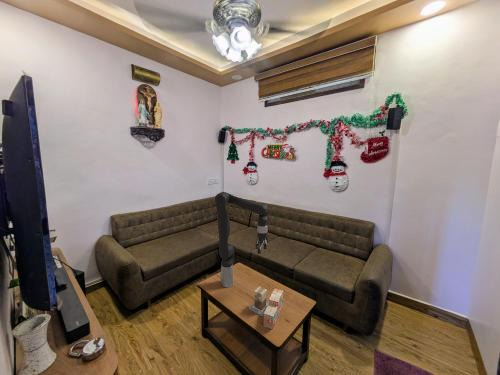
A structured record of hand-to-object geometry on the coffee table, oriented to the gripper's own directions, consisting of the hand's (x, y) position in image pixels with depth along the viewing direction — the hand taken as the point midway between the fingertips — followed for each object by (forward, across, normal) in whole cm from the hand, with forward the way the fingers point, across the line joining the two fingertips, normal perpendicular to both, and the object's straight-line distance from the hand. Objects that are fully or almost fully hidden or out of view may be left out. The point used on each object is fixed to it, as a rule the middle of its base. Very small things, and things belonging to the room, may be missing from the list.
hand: (262, 251), depth 155 cm
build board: (+32, +16, +9) cm, 37 cm away
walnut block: (+31, +16, +9) cm, 36 cm away
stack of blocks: (+32, +17, +20) cm, 42 cm away
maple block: (+25, +16, +9) cm, 31 cm away
